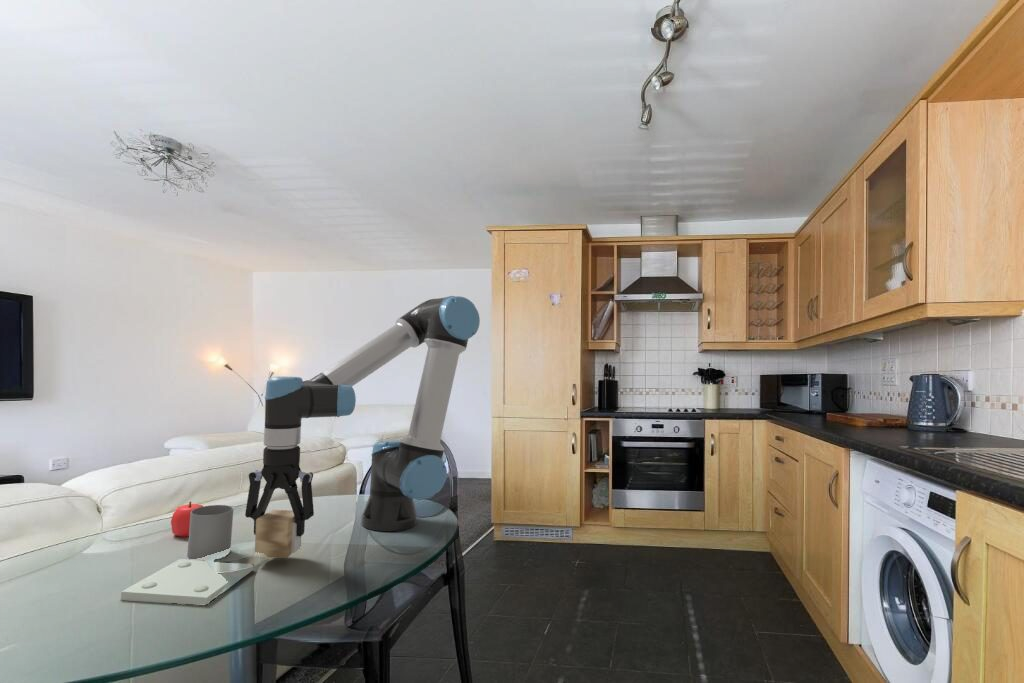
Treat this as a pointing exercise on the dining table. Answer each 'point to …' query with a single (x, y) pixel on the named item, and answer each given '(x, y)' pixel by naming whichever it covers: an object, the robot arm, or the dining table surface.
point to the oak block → (275, 533)
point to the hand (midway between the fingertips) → (278, 549)
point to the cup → (209, 530)
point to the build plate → (178, 584)
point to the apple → (182, 519)
